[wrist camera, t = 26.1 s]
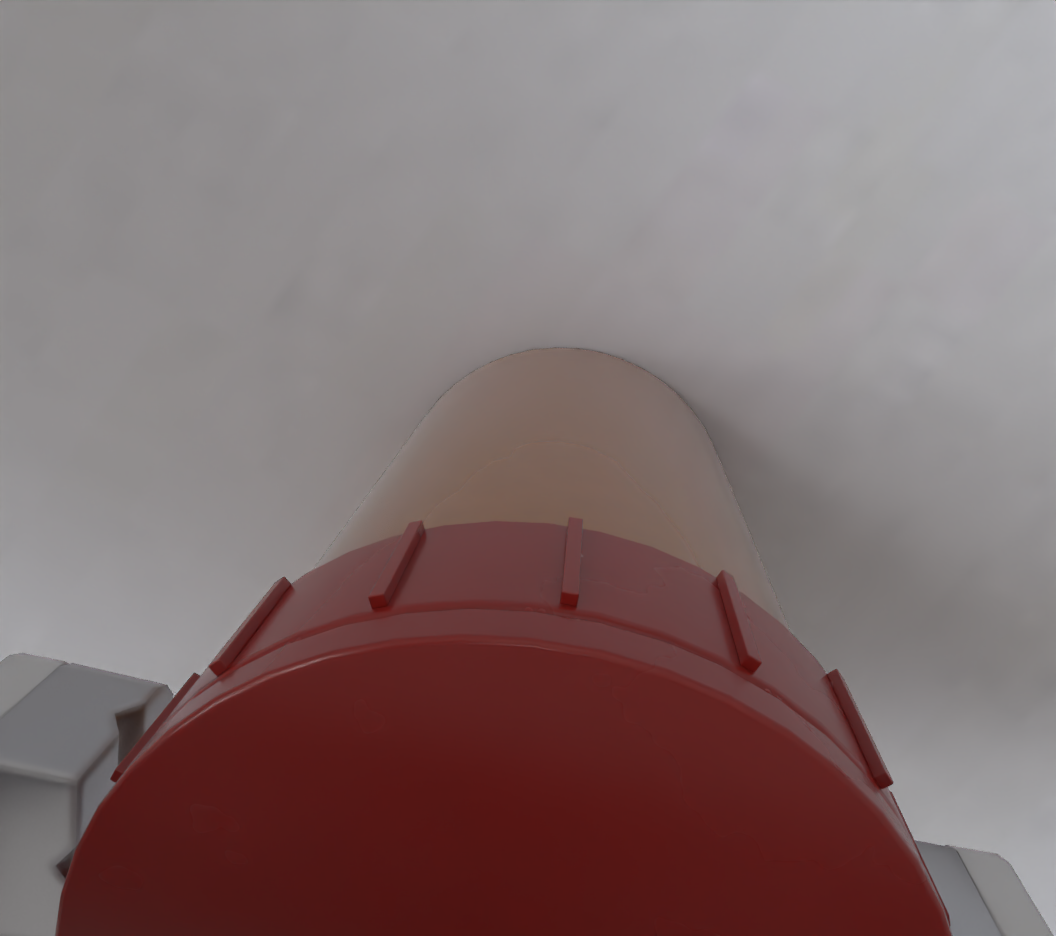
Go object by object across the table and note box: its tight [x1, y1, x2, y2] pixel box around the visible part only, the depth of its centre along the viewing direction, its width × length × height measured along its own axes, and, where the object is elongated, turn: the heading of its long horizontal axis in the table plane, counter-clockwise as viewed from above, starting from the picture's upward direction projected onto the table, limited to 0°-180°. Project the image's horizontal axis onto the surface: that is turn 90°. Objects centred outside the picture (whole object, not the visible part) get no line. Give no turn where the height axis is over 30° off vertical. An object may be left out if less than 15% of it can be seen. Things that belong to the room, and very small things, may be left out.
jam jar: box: [313, 348, 791, 633], centre depth 11 cm, size 6×6×10 cm
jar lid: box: [55, 517, 953, 936], centre depth 7 cm, size 6×6×2 cm
